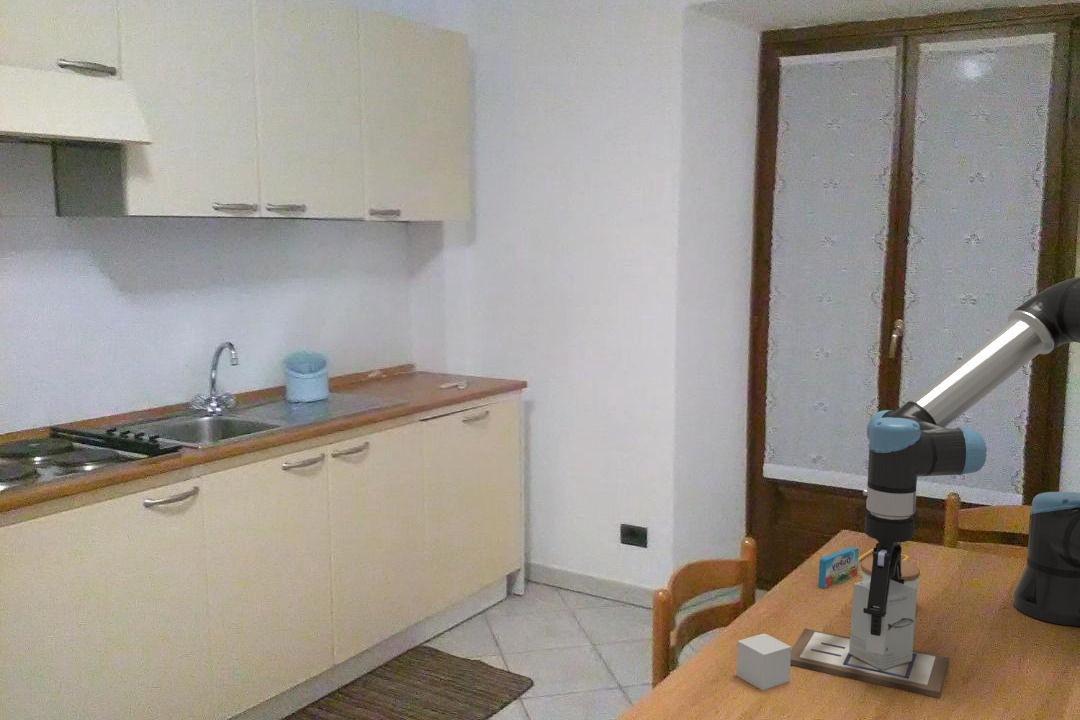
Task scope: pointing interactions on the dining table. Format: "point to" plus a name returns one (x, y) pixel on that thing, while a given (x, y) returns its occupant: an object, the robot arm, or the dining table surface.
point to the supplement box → (897, 625)
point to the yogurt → (838, 567)
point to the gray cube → (763, 661)
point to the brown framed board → (835, 659)
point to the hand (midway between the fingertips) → (882, 636)
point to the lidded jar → (907, 570)
